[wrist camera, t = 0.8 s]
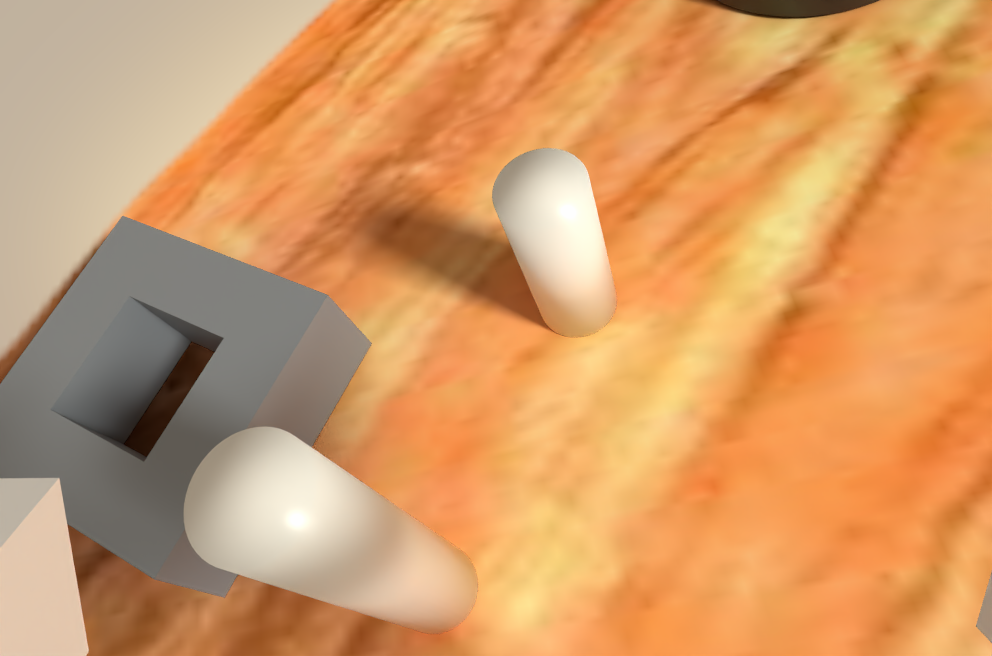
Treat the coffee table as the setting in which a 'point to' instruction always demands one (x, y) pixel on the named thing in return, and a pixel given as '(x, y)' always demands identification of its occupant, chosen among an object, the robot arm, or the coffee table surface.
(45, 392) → the hole block
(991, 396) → the coffee table surface
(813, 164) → the coffee table surface
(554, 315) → the short pin
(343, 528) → the tall pin
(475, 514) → the coffee table surface
